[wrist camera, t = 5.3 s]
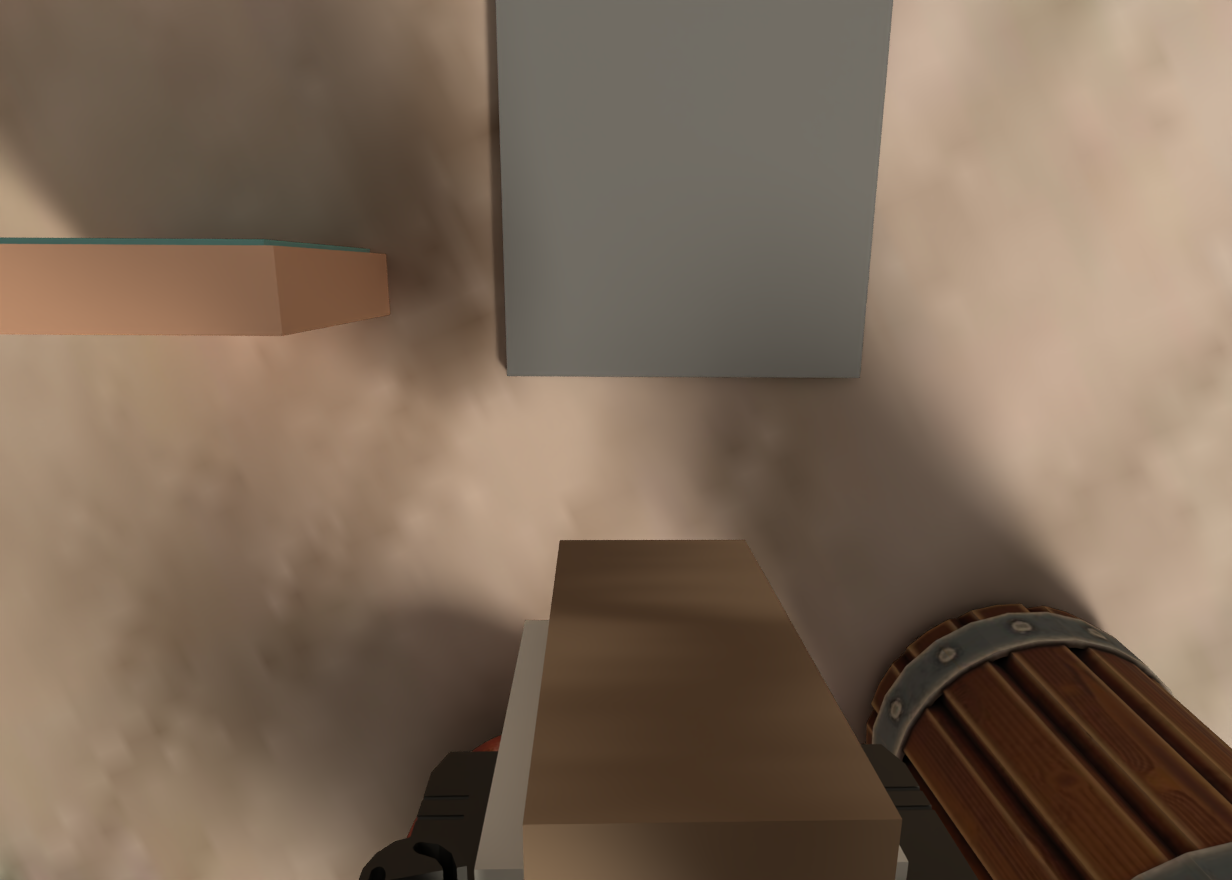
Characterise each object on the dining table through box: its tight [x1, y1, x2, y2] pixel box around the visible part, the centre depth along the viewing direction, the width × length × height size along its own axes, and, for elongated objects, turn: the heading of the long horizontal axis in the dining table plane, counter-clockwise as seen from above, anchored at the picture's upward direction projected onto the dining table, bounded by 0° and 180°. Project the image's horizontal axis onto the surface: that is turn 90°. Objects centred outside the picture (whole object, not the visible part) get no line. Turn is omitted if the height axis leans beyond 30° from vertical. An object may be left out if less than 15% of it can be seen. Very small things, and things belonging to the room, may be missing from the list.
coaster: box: [496, 0, 893, 378], centre depth 23 cm, size 12×12×1 cm
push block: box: [523, 540, 902, 880], centre depth 12 cm, size 4×6×8 cm, turn 179°
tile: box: [0, 238, 390, 336], centre depth 20 cm, size 8×2×8 cm, turn 90°
